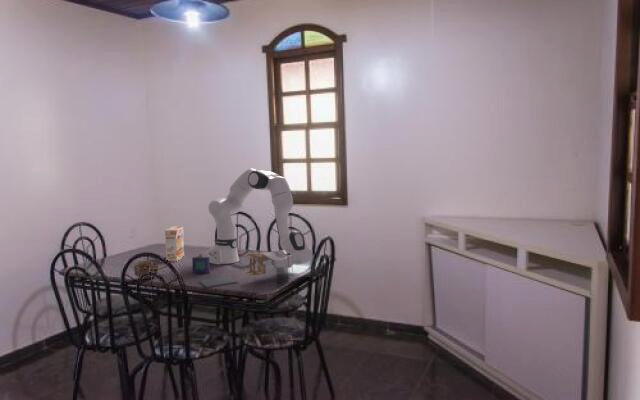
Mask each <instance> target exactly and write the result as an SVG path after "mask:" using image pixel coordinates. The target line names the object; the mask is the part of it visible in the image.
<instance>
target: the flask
mask: <svg viewBox="0 0 640 400" xmlns="http://www.w3.org/2000/svg"><path fill="white" fill-rule="evenodd" d="M191 262H192V274H194V275H195V274H197V275H200V274H201V275H202V274H203V275H204V274H210V273H211V271H210V269H211V268H210V267H211V266H210V264H211V263H210V262H209V257H207V256H203V253H199V255H198V256H196V255H195V256H193V257H192V261H191Z"/></svg>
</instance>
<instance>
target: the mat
mask: <svg viewBox="0 0 640 400" xmlns="http://www.w3.org/2000/svg"><path fill="white" fill-rule="evenodd" d="M199 283H200V284H201V285H202V286H204V287H205V288H206V289H207V288H215V287H218V286H219V287H221V286H225V285H227V286H228V285H233V284H237V283H238V280H236V279H235V278H233V277H231V276H222V277H217V278H210V279H203V280H199Z"/></svg>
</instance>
